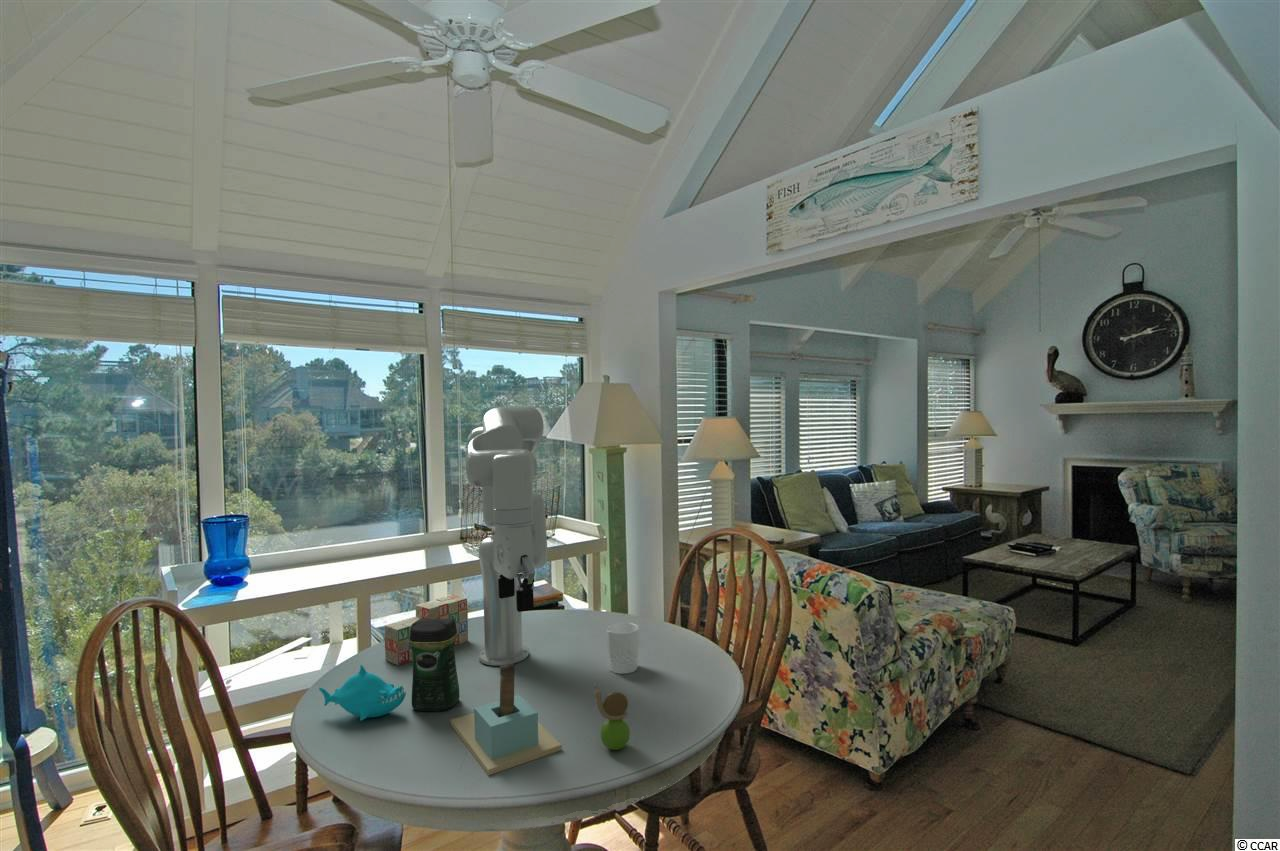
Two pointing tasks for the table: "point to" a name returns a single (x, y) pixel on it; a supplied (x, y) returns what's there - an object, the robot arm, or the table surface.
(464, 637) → the stack of blocks
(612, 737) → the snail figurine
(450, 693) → the coffee jar
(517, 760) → the shape sorter toy
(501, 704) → the brown wooden rod
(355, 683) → the toy shark
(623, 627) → the white cup
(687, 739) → the table surface
